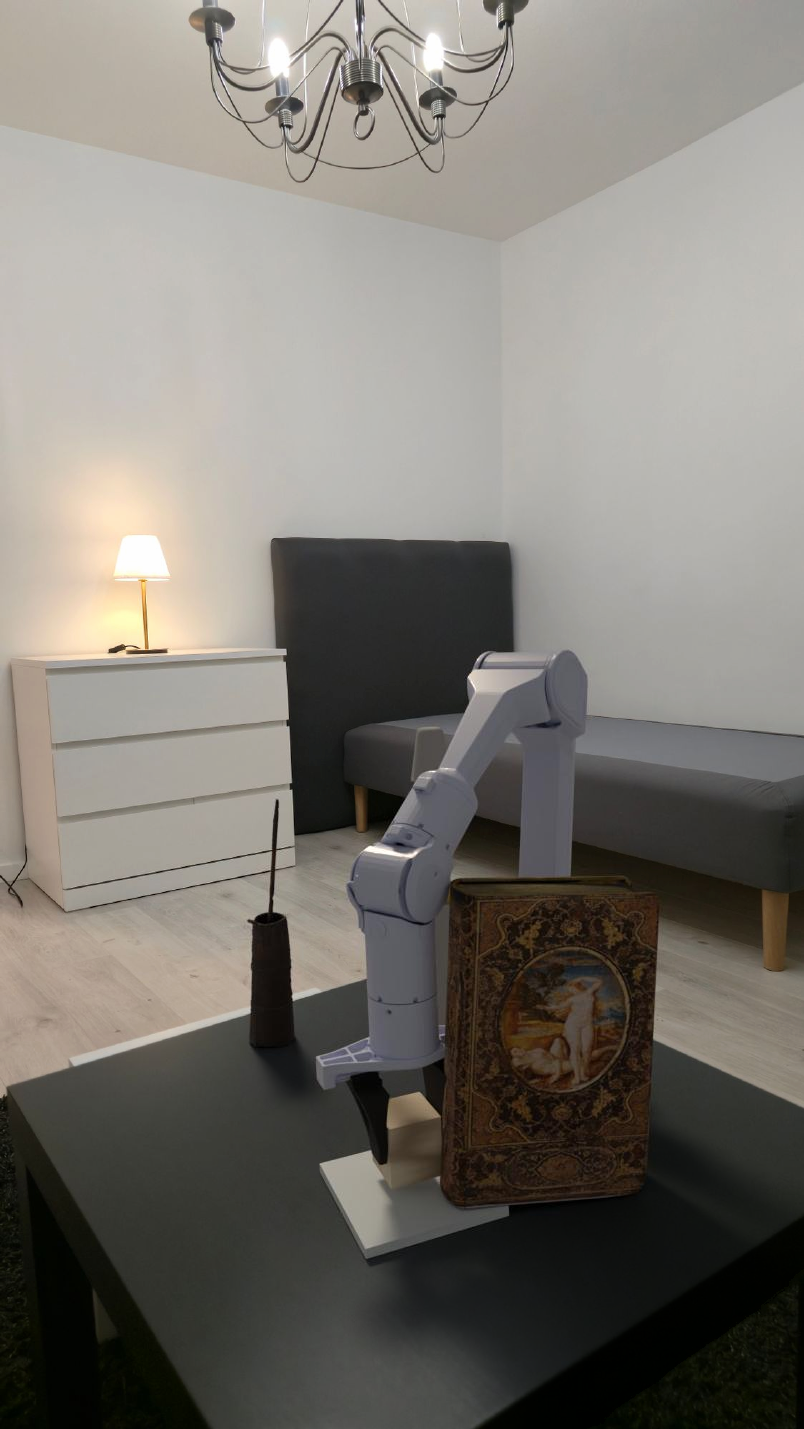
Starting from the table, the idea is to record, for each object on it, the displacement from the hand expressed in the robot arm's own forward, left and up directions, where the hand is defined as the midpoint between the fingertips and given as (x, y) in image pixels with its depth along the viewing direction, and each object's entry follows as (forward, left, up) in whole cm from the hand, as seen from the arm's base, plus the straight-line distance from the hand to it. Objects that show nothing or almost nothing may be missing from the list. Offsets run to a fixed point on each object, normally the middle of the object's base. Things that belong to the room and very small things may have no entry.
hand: (408, 1150), depth 75 cm
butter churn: (+5, -33, -4) cm, 34 cm away
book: (-10, +4, -3) cm, 11 cm away
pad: (0, 0, -4) cm, 4 cm away
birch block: (0, 0, -2) cm, 2 cm away
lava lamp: (-16, -31, -4) cm, 35 cm away
